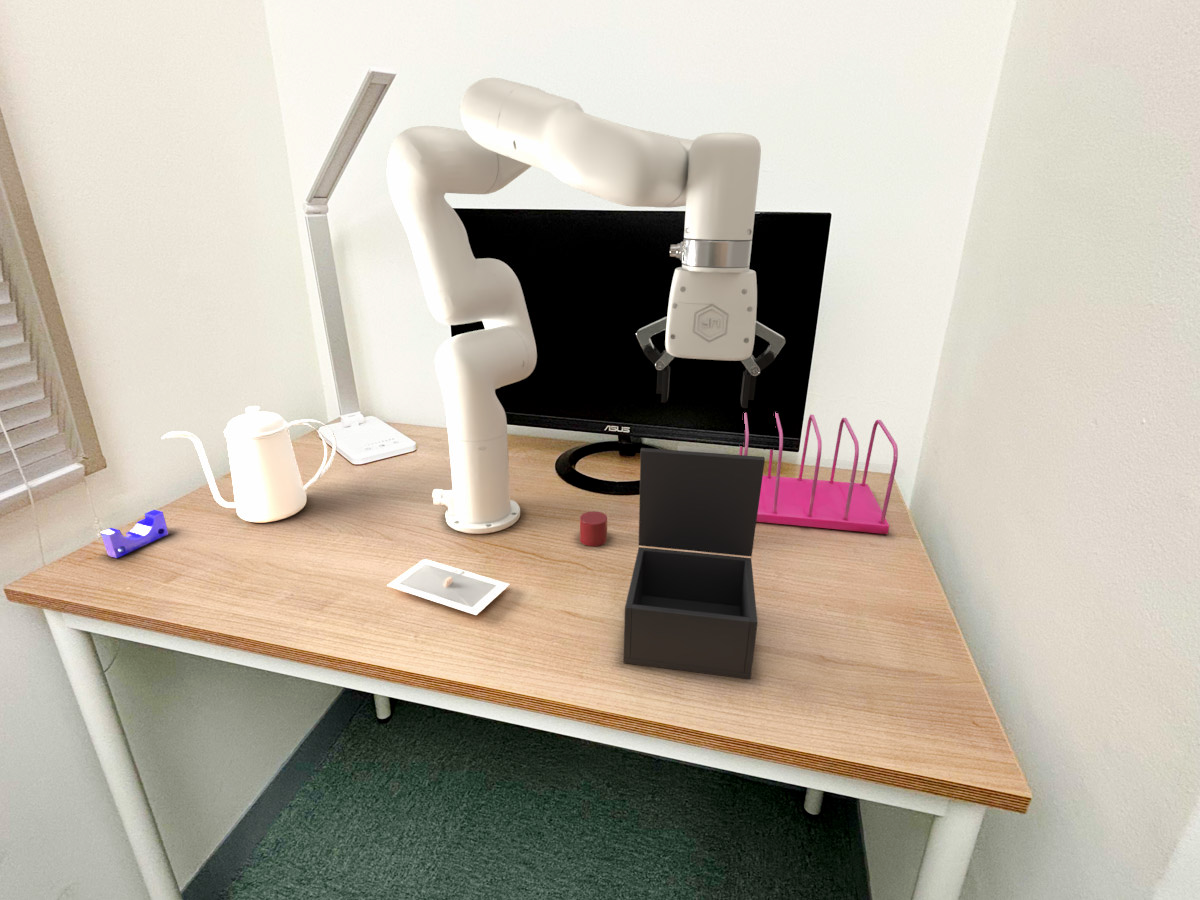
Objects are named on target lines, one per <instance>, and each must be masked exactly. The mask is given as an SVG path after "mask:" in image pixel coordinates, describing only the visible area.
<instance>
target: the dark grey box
mask: <svg viewBox="0 0 1200 900" xmlns="http://www.w3.org/2000/svg"><path fill="white" fill-rule="evenodd" d="M636 553H637V554H636V557H635V563H634V566H633V570H632V575H631V579H630V584H629V588H628V592H627V596H626V602H625V605H624V625H623V628H624V629H623V655H622V656H623V658H622V660H623V664H628V665H636V666H644V667H651V668H652V667H654V668H660V669H667V670H676V671H684V672H692V673H699V674H706V675H715V676H722V677H731V678H736V679H737V678H739V679H745V680H751V678H752V671H753V661H754V654H755V648H756V647H755V646H756V638H757V637H756V636H757V630H758V614H757V613H758V612H757V603H756V593H755V592H756V591H755V584H754V583H755V582H754V573H753V563H752V558H751V557H746V556H736V555H726V554H716V553H706V552H696V551H685V550H675V549H665V548H655V547H644V546H639V547H638V549H637V552H636Z"/></svg>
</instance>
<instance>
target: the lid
mask: <svg viewBox="0 0 1200 900" xmlns="http://www.w3.org/2000/svg"><path fill="white" fill-rule="evenodd" d="M639 459H640V461H639V462H640V463H639V469H640V470H639V504H638V505H639V509H638V510H639V511H638V520H639V521H638V546H639V547H648V548H658V549H668V550H678V551H688V552H699V553H709V554H719V555H729V556H739V557H752V556H753V549H754V543H755V536H756V535H755V534H756V527H757V513H758V506H759V499H760V491H761V484H762V477H763V475H764V470H765V469H764V468H765V461H766V460H765V459H766V457H765V456H757V455H747V456H745V455H744V454H742V455H739V454H729V453H727V448H718V447H708V446H707V447H705V446H692V445H689V446H688V445H678V446H677V450H676V449H675V450H674V449H661V448H649V447H647V448H646V447H641V448H640V457H639Z"/></svg>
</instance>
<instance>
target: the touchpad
mask: <svg viewBox="0 0 1200 900" xmlns="http://www.w3.org/2000/svg"><path fill="white" fill-rule="evenodd" d="M510 585H511V584H510V583H508V582H504V581H501V580H498V579H494V578H491V577H488V576H484V575H481V574H478V573H474V572H470V571H468V570H463V569H461V568H458V567H454V566H451V565H447V564H444V563H441V562H439V561H438V562H437V561H434V560H431V559H427V558H423V559H422V560H420V561H418V562H417V563H416V564H414V565H413V566H412V567H410V568H409V569H408V570H406V571H405V572H403V573H401V574H400V575H399V576H397V577H396V578H395V579H393V580H392V581H391V582H389V583H388V584H386V587H388V588H392V589H395V590H398V591H400V592H404V593H407V594H410V595H413V596H416V597H419V598H422V599H425V600H429V601H431V602H434V603H437V604H439V605H443V606H447V607H449V608H452V609H455V610H458V611H460V612H461V611H462V612H464V613H467V614H471V615H474V616H477V615H478V614H480V613H481V612H483V610H484V609H485V608H486V607H487V606H488V605H489V604H491V603H492V602H493V601H494V600H495V599H496V598H497V597H498V596H499V595H501V594H502V593H503V592H504V591H505V590H506V589H507V588H508V587H509V586H510Z"/></svg>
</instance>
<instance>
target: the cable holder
mask: <svg viewBox="0 0 1200 900" xmlns="http://www.w3.org/2000/svg"><path fill="white" fill-rule="evenodd" d="M169 533H170V532H169V529H168V526H167V521H166V519H165V515H164V512H163V511H160V510H157V509H152V510H150V511H148V512H146V513H144V518H143V519H140V520H138V521H137V522H136V523H135V526H134V527H133V528H131V529H130V530H129V531H127V532H126V533H125V534H126V536H125V535H124V534H123V533H122V531H121V529H118V528H117V529H116V528H113V527H110V528H107V529H105V530H101V531H100V536H101V538H102V541H103V545H104V548H105V551H106V554H107V556H108V557H110V558H114V559H118V558H121V557H123V556H125V555H128V554H130V553H131V552H134V551H136V550H138V549H140V548H142V547H144V546H147V545H148V544H151V543H153V542H155V541H157V540H160V539H162V538H164V537H166V536H168V535H169Z"/></svg>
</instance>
